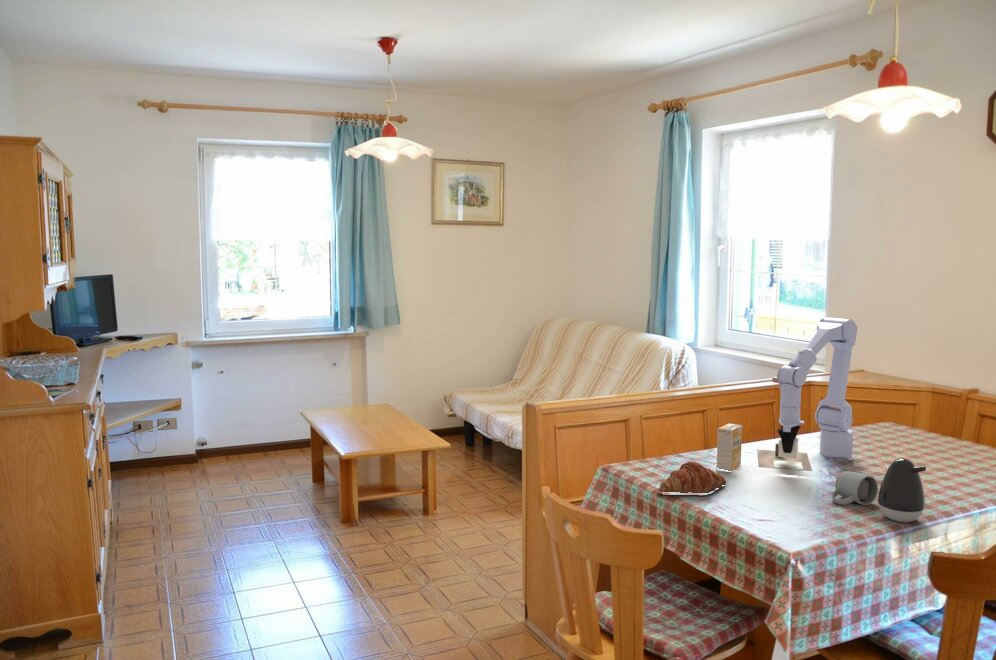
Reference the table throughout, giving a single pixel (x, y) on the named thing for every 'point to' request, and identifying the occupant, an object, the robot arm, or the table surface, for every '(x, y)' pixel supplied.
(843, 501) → the ceramic mug
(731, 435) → the supplement box
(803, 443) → the table surface
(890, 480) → the pump dispenser
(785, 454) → the off-white matte cube
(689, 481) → the pastry
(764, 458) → the walnut board
